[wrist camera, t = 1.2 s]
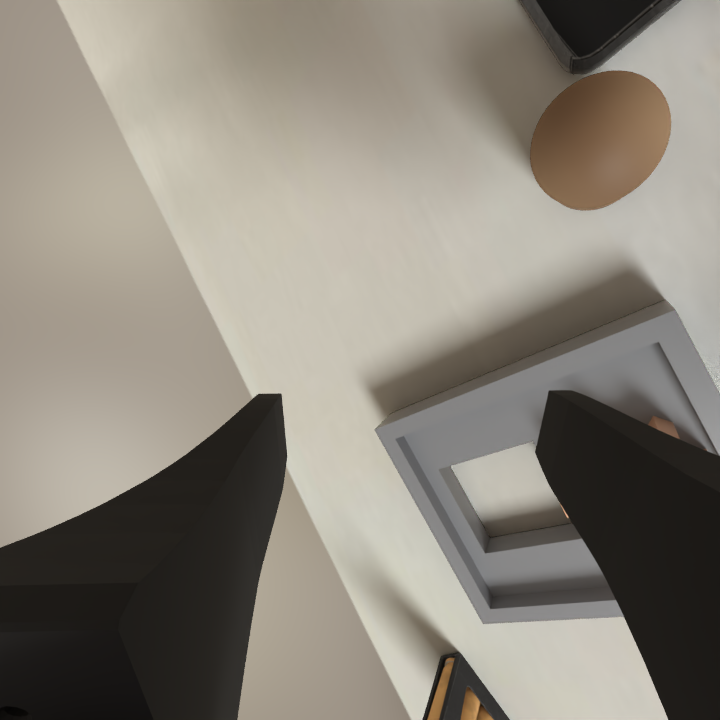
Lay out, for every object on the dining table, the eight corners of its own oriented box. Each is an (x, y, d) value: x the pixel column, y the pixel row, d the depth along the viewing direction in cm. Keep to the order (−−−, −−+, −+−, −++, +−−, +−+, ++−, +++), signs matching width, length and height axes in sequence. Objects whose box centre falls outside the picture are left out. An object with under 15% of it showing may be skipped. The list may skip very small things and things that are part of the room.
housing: (665, 299, 19) (679, 314, 16) (805, 563, 19) (844, 625, 16) (390, 413, 27) (367, 436, 25) (491, 593, 28) (479, 637, 25)
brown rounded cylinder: (620, 90, 17) (634, 38, 12) (664, 174, 18) (695, 156, 13) (529, 153, 20) (509, 130, 15) (569, 227, 20) (562, 230, 15)
